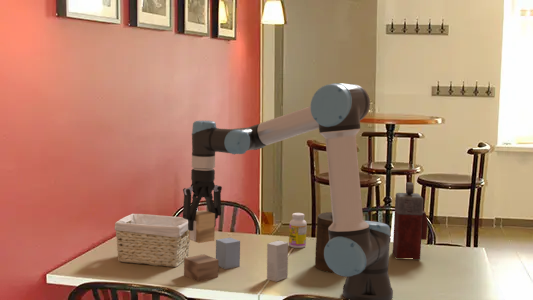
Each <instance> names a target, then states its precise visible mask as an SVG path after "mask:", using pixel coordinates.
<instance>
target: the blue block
mask: <svg viewBox="0 0 533 300" xmlns="http://www.w3.org/2000/svg"><path fill="white" fill-rule="evenodd" d="M215 259H218V268H222V269H224V270H229V269H233V268H239V267H241V262H240V261H241V260H240V259H241V240H239V239H236V238H233V237H225V238H218V239H215Z"/></svg>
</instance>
